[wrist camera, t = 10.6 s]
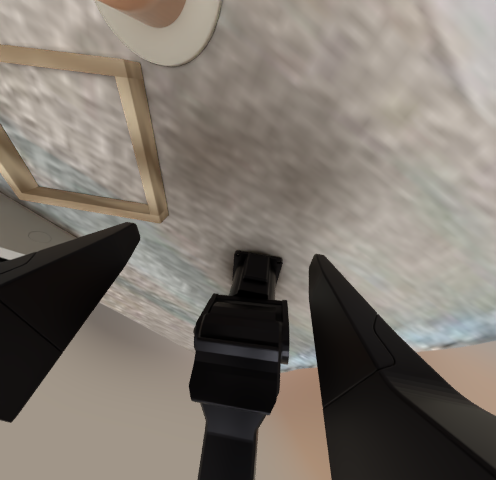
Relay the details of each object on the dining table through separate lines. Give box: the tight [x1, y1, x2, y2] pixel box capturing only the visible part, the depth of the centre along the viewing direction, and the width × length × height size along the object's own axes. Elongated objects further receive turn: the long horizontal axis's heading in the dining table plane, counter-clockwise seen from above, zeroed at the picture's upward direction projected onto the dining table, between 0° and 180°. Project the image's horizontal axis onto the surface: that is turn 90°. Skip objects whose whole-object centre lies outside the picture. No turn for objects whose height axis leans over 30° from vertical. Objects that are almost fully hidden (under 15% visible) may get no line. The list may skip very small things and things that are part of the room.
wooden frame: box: [0, 45, 169, 223], centre depth 19 cm, size 14×18×2 cm
